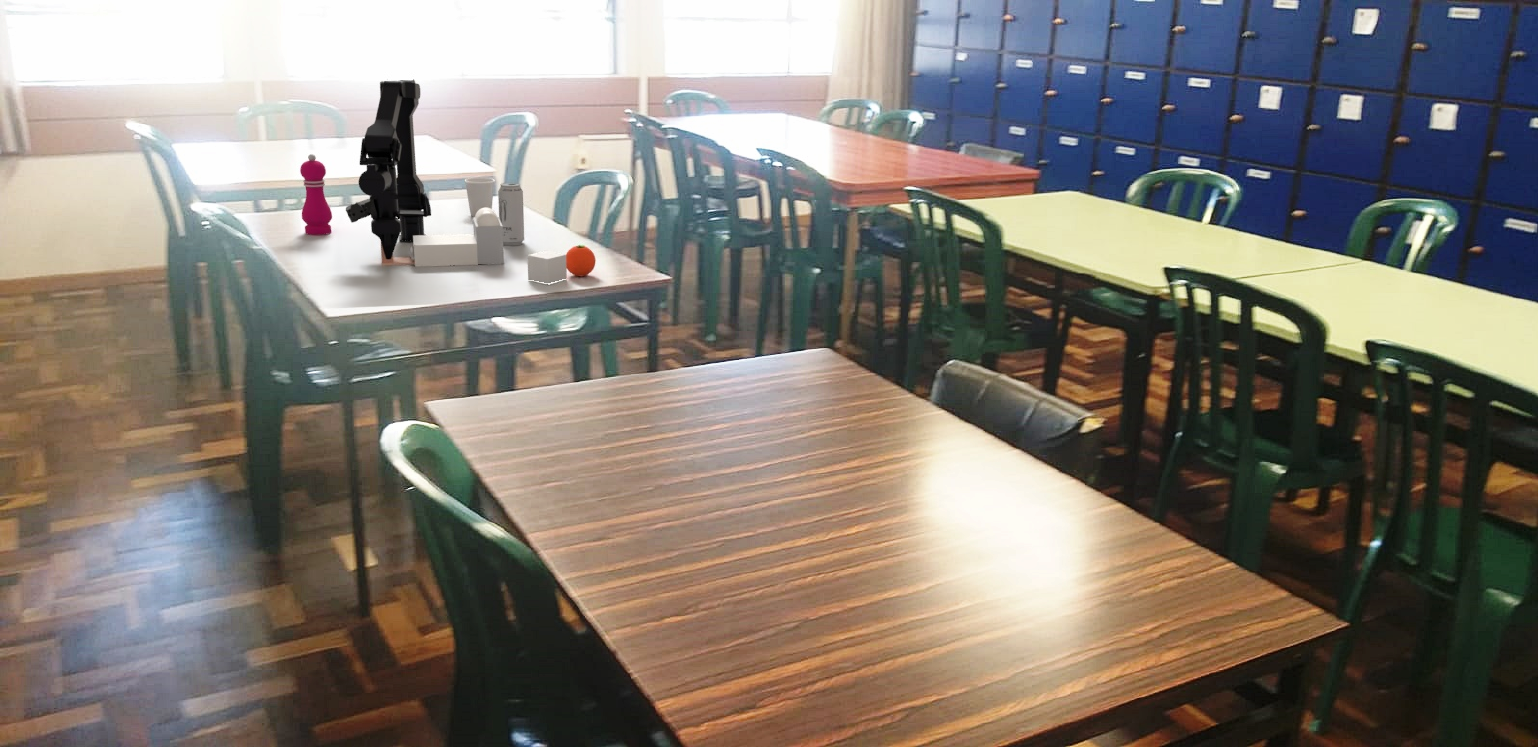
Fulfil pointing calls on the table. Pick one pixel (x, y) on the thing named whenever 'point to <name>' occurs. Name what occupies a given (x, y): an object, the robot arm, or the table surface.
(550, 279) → the grey cube
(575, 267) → the clementine
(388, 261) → the l-shaped wooden bracket
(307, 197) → the pepper mill
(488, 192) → the dixie cup
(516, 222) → the energy drink can
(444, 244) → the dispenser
